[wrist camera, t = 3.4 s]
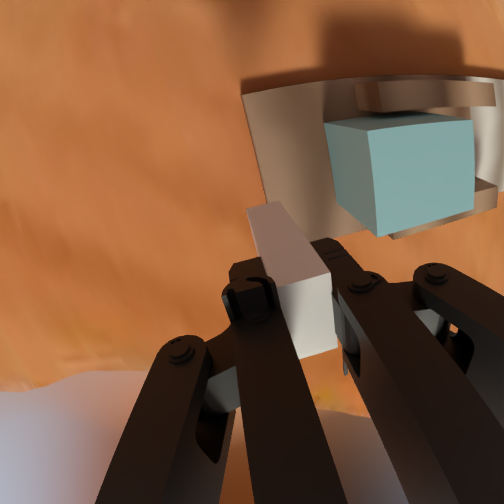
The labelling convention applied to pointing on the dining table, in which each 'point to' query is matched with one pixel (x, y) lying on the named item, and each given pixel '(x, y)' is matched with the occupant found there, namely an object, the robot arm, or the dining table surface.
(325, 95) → the walnut board
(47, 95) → the dining table surface
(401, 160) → the teal block
